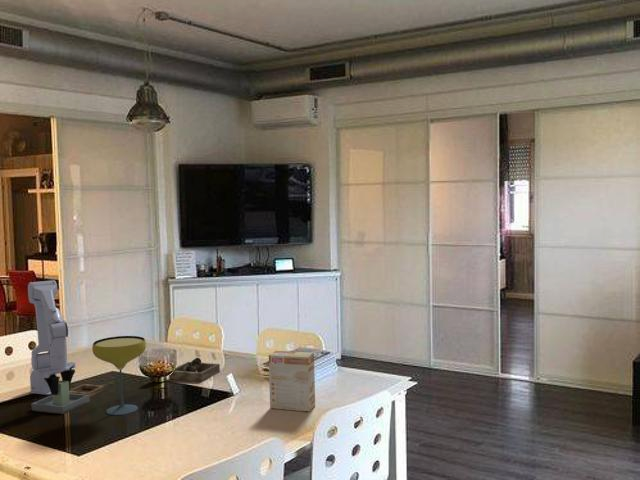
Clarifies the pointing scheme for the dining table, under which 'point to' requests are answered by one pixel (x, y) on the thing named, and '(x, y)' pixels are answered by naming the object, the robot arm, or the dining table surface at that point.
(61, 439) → the dining table surface
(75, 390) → the square brown frame
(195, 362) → the eagle figurine
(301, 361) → the coffeecake box
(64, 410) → the tray
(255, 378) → the dining table surface
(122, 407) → the cocktail glass
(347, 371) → the dining table surface
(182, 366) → the square serving dish
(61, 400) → the green elongated block
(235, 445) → the dining table surface
